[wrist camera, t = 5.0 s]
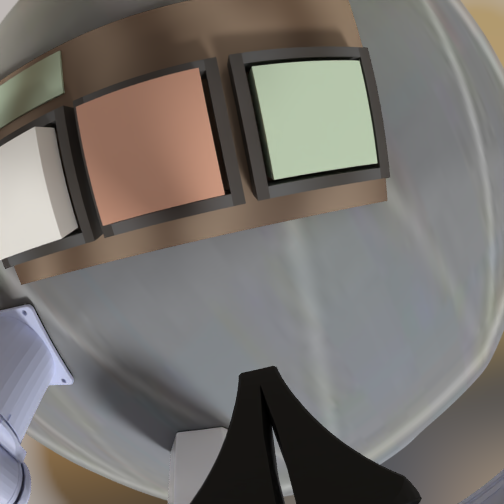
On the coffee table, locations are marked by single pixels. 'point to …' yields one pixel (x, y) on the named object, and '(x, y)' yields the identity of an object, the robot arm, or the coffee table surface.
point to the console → (219, 112)
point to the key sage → (312, 116)
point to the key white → (32, 193)
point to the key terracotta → (150, 147)
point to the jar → (192, 462)
